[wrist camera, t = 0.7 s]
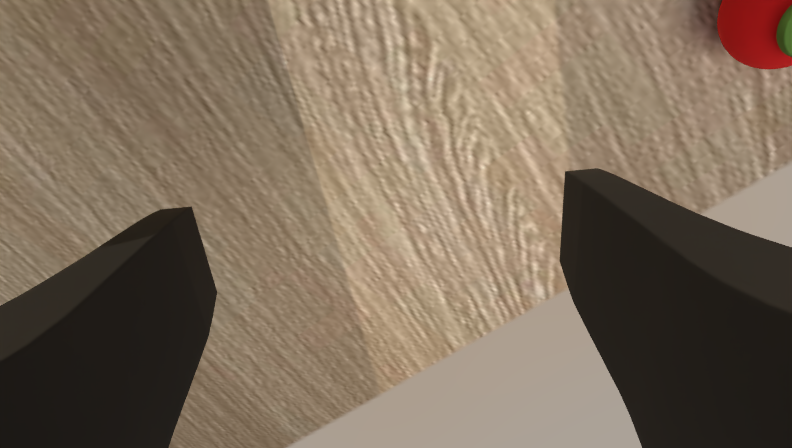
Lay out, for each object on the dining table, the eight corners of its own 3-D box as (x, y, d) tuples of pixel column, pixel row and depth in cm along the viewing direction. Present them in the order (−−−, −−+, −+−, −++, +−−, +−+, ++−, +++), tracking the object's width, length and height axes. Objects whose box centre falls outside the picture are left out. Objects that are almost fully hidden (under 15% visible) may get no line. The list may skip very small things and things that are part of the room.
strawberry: (802, 30, 20) (879, 57, 17) (706, 69, 20) (764, 102, 17) (794, -67, 18) (877, -56, 15) (691, -22, 19) (752, -3, 16)
